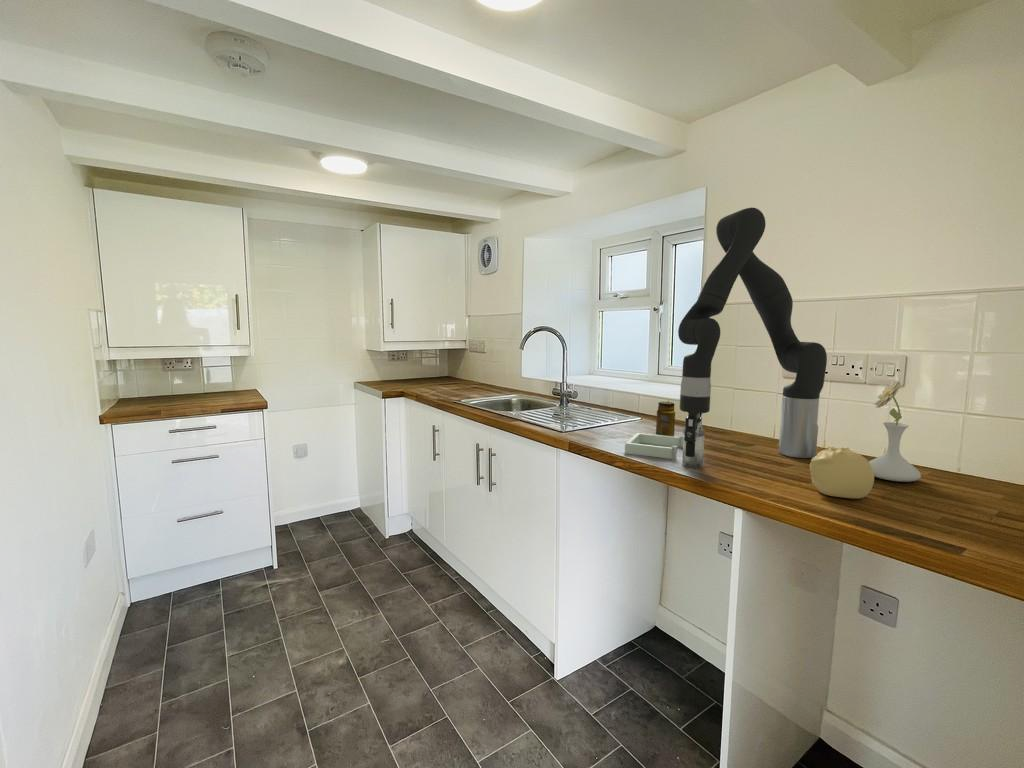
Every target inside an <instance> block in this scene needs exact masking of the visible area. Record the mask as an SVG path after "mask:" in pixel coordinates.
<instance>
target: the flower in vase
mask: <svg viewBox="0 0 1024 768" xmlns="http://www.w3.org/2000/svg"><path fill="white" fill-rule="evenodd" d="M901 384H902V383H901V381H900V380H899V379H898V380H897V381H896V380H893V381H892V382H891V383H889V385H886V386H885V387H884V389H883V390H882V392H881V394H879V395H878V396H877V397H876V398H877V399H878V400H876V401H875V403H874V406H875V408H876V409H878V408H883V407H884V406H885V405H887V404H888V403H889V402H890V401H891V400H893V402H894V404H895V405H896V407H897V410H896V409H895V408H894V407H893V408H892V409H890V411H889V415H890V416H892V418H893V419H895V420H894V422H891V421H885V422H882V424H883V425H884V427H885V428H886V431H887V438H888V442H887V443H888V444H887V449H886V451H884V453H883V454H882V455H879V456H877V457H876V458H873V459H871V460H870V461H869V460H868V462H869V463H870V464H871V466H872V468H873V472H874V478H875V477H876V478H878V479H882V480H886V481H892V482H903V483H905V482H906V483H907V482H908V483H909V482H915V481H919V479H921V478H922V474H921V473H920V471H919V470H918V469H917V468H916V467H915V466H914V465H913V464H912V463H910V462H909V461H908V460H907V459H905V458H904V457H903V456H902V454H901V452H900V446H901V445H900V444H901V439H902V435H903V434H904V432H905V430H906V429H908V427H909V426H910V425H909V424H907V423H901V422H899V420H901V419H902V412H901V409H900V406H899V404H898V401H897V400H896V399H897V398H895V396H896V395H897V394H898V391H899V390H900V389H901Z"/></svg>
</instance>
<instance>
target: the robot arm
mask: <svg viewBox="0 0 1024 768" xmlns="http://www.w3.org/2000/svg"><path fill="white" fill-rule="evenodd" d="M715 228H716V229H715V230H716V231H715V234H716V238H717V240H718V242H719V245H720V246H721V249H722V250H723V251H724V253H725V254H724V255H723V257H722V258H721V260H719V262H718V263H717V264H716V266H715V267H714V268H713V269H712V271H711V272H710V273H709V275H708V276H706V279H705V281H704V282H703V285H702V287H701V290H700V292H699V295H698V297H697V299H696V301H695V302H694V304H692V305H691V307H690V309H689V310H688V311H687V313H686V314H685V315H684V316H683V318H682V320H681V321H680V323H679V326H678V331H677V334H678V338H679V341H680V342H681V343H682V344H685V345H689V346H692V345H693V346H696V349H695V351H694V353H690V354H686V355H685V356H684V357H683V361H682V376H681V382H680V395H679V410H680V411H681V412H685V413H688V414H687V416H686V417H685V419H684V420H685V421H684V425H685V427H684V428H685V438H684V440H685V442H686V452H685V455H686V456H687V457H694V456H695V443H696V437H697V436H698V435H699V428H702V427H703V426H702V423H703V418H702V415H703V414H706V413H709V412H710V407H711V394H712V393H711V391H712V390H711V389H712V383H711V381H712V379H711V375H712V361H713V359H714V357H715V354H716V350H717V346H718V344H719V341H720V339H721V338H720V337H721V327H720V324H719V322H718V321H717V320H716V319H715V318H713V317H714V316H718V315H720V314H721V313H722V312H723V310H724V308H725V305H726V304H727V302H728V300H729V299H728V298H729V296H730V294H731V292H732V289H733V287H734V284H735V283H736V281H737V279H738V276H739V277H740V279H741V281H742V283H743V285H744V287H745V288H746V290H747V292H748V295H749V297H750V299H751V301H752V303H753V305H754V307H755V309H756V311H757V313H758V314H759V316H760V318H761V321H762V322H763V325H764V327H765V329H766V331H767V334H768V335H769V338H770V341H771V343H772V346H773V350H774V353H775V355H776V358H777V360H778V363H779V364H780V366H781V368H782V369H784V370H785V371H786V372H788V373H793V374H795V375H796V376H795V380H794V381H793V382H792V383H790V384H787V385H784V386H783V387H782V388H783V389H782V397H781V398H782V399H781V400H782V401H781V415H780V429H779V443H778V453H779V454H780V455H784V456H787V457H790V458H798V459H799V458H800V459H813V458H814V457H815V456H816V455H817V449H818V435H819V425H818V423H819V422H818V420H819V409H820V408H819V407H820V396H821V395H820V394H821V392H822V390H823V388H824V383H825V379H826V370H827V361H828V360H827V359H828V357H827V351H826V349H825V347H824V346H823V345H822V344H821V343H819V342H815V341H800V340H799V338H798V337H797V335H796V333H795V331H794V329H793V326H792V320H791V319H792V313H793V305H794V304H793V303H794V301H793V297H792V295H791V292H790V290H789V288H788V286H787V283H786V282H785V280H784V278H783V277H782V276H781V275H780V274H779V273H778V272H777V271H776V270H774V269H773V268H772V267H771V266H769V265H768V264H766V263H765V262H764V261H762V260H761V259H760V258H758V256H757V255H756V254H755V252H754V250H755V248H756V247H757V245H758V243H759V242H760V241H761V239H762V237H763V235H764V233H765V229H766V217H765V215H764V213H763V212H762V210H760V209H759V208H757V207H746V208H743V209H740V210H738V211H736V212H733V213H730V214H728V215H725V216H724V217H722V218H721V219H719V220H718V222H717V224H716V227H715ZM702 429H703V428H702ZM689 435H693V437H688V436H689Z"/></svg>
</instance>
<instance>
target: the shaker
mask: <svg viewBox="0 0 1024 768" xmlns="http://www.w3.org/2000/svg"><path fill="white" fill-rule="evenodd" d="M682 429H683V431H682V432H683V436H684V438H685V427H683V428H682ZM705 435H706V429H704V428H699V435H698V436H697V437H696V443H695V456H694V457H687V456H686V455H685V452H686V442H685V440H684V438H683V448H682V464H681V465H682V467H683V468H686V469H689V468H690V469H691V470H700V468H701V469H703V468H704V450H705V449H704V448H705V447H704V446H705ZM688 437H693V435H689V436H688Z"/></svg>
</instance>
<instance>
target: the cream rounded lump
mask: <svg viewBox="0 0 1024 768" xmlns="http://www.w3.org/2000/svg"><path fill="white" fill-rule="evenodd" d="M810 459H811V460H810V463H809V472H810V477H811V482H812V485H813V486H814V487H815V488H816V489H817V490H818V491H819V492H820V493H821V494H822V495H826V496H830V497H836V498H845V499H846V498H847V499H863V498H865V497H866V496H868V495H869V493H870V492H871V490H872V488H873V486H874V482H875V476H874V472H873V468H872V466H871V464H870V463H869V460H867V458H865V456H863V455H861V454H860V453H857V452H855V451H852V450H851V449H850V448H849V447H835V446H827V447H826V448H825V449H823V450H821V451H819V452H817V453H816V456H815V457H814V458H810Z"/></svg>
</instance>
